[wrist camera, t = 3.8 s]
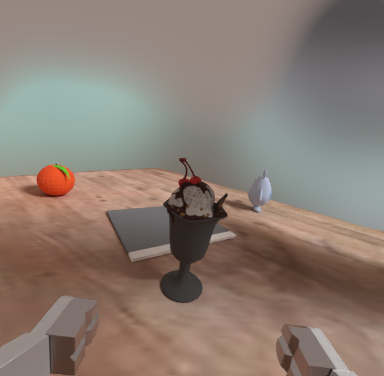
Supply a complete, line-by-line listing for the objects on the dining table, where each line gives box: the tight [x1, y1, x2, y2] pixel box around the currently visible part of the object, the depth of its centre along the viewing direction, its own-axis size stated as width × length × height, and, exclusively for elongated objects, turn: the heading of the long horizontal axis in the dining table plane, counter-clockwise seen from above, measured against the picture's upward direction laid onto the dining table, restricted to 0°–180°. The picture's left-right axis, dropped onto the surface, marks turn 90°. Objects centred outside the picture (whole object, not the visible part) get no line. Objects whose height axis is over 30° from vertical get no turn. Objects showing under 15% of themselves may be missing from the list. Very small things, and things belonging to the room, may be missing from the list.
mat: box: [107, 206, 236, 262], centre depth 37 cm, size 20×17×1 cm
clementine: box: [37, 164, 75, 196], centre depth 42 cm, size 8×7×7 cm
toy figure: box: [248, 170, 272, 212], centre depth 53 cm, size 11×6×12 cm, turn 163°
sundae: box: [161, 158, 228, 302], centre depth 21 cm, size 7×7×15 cm
